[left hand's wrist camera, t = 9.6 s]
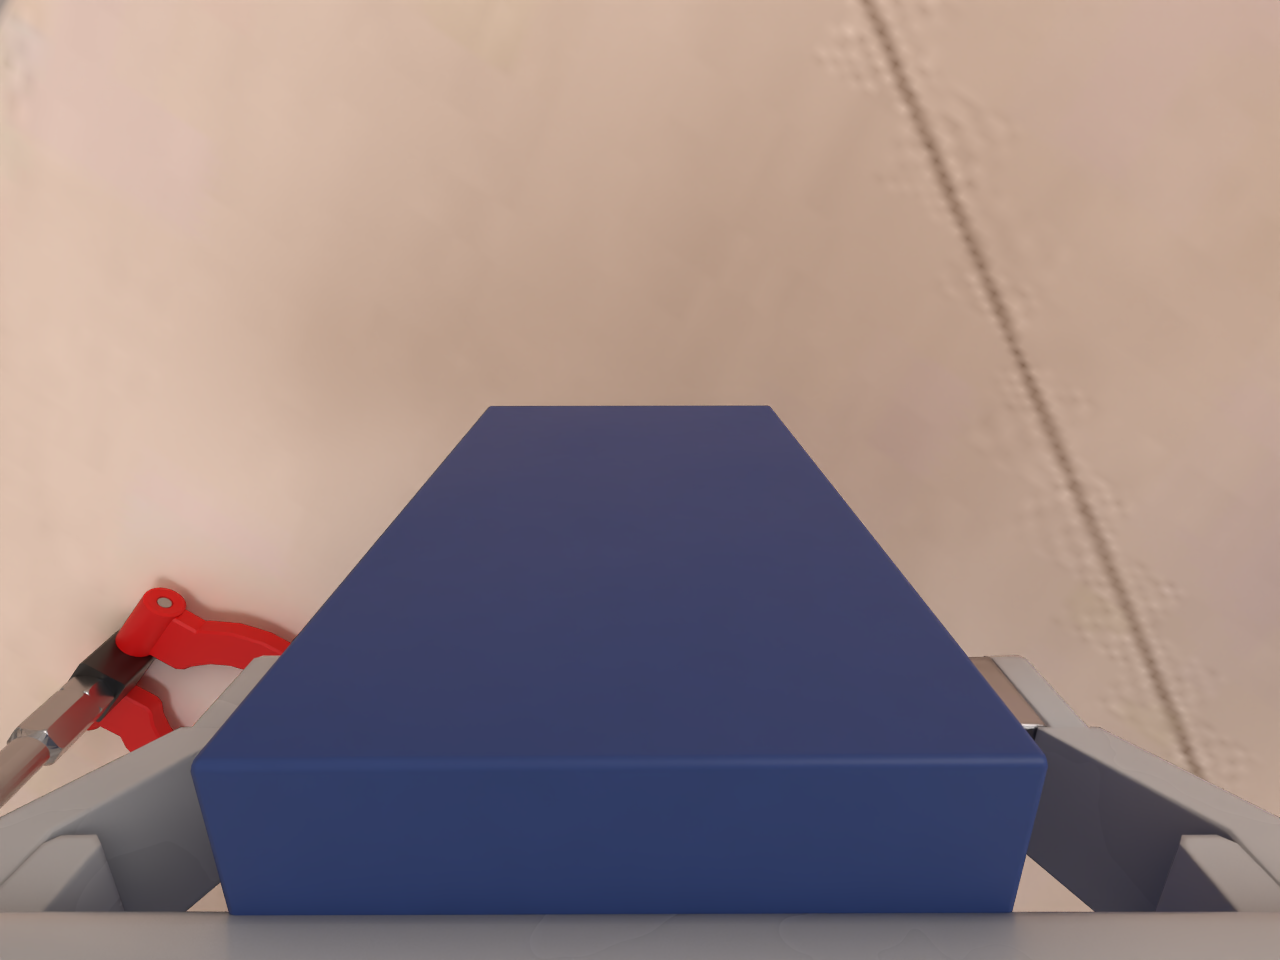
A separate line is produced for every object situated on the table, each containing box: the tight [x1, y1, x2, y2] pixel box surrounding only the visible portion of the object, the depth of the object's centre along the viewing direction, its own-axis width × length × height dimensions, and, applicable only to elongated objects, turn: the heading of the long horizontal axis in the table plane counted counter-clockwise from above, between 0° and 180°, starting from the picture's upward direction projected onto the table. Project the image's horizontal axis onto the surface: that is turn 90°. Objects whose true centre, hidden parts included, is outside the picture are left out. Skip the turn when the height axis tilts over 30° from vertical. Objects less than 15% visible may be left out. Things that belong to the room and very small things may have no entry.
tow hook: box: [0, 588, 291, 808], centre depth 21 cm, size 8×13×9 cm
